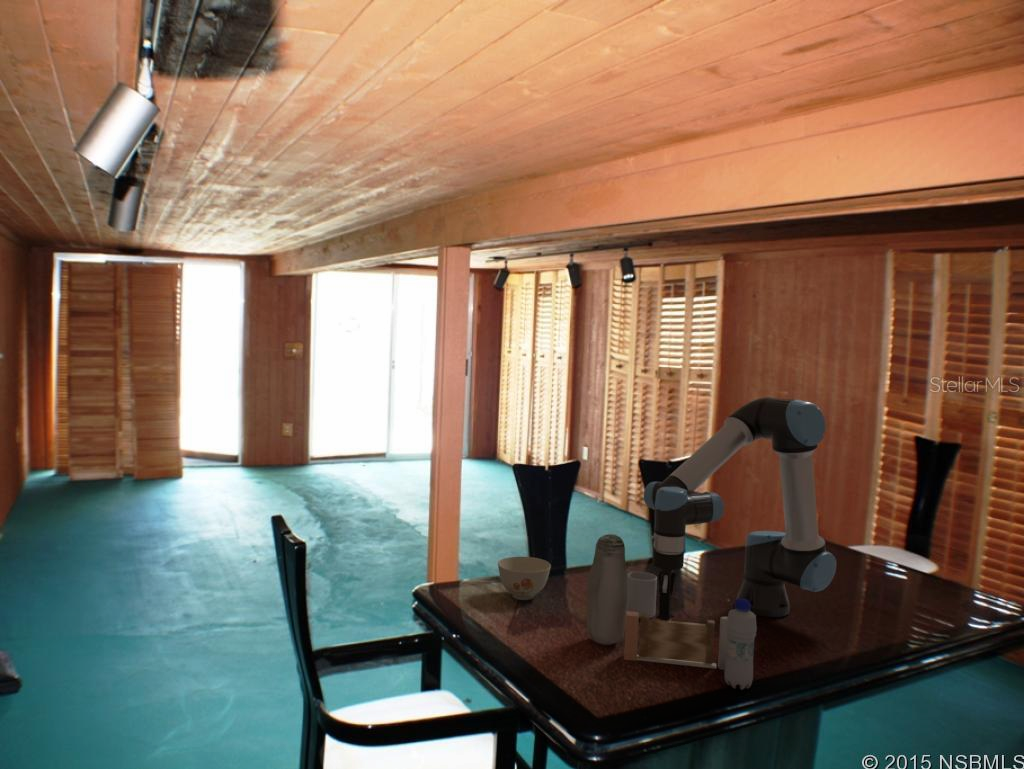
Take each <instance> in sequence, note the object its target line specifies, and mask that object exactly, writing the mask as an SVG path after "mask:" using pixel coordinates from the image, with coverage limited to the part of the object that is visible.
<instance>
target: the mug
mask: <svg viewBox="0 0 1024 769" xmlns="http://www.w3.org/2000/svg"><path fill="white" fill-rule="evenodd" d="M627 575H628V585H629V586H628V603H627V611H631V612H639V619H641V614H649V619H653V618H654V617H655V616H656V609H657V606H656V605H657V603H656V602H657V589H658V588H657V586H658V576H656V575H655V574H653V573H650V572H647V571H631V572H629V573H627Z"/></svg>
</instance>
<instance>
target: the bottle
mask: <svg viewBox="0 0 1024 769" xmlns="http://www.w3.org/2000/svg"><path fill="white" fill-rule="evenodd" d="M727 617H728V619H727V623H726V627H727V629H726V631H727V634H728V635H727V652H726V662H725V670H723V671H724V681H725V683H726V685H727V686H731V687H732V688H733V689H736V688H737V685H738V686H739V689H740V690H745V689H749V688H751V686H752V684H753V680H754V655H755V654H754V652H755V651H754V650H755V638H756V636H757V630H758V629H757V615H755V614H754V613H752V612H751V611H750V602H749V601H748V600H746V599H737V598H736V600H735V602H734V609H731V610H729V611H728V614H727Z"/></svg>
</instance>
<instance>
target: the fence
mask: <svg viewBox="0 0 1024 769" xmlns="http://www.w3.org/2000/svg"><path fill="white" fill-rule="evenodd" d="M639 619H640V618H639V612H631V611H626V628H625V632H624V634H625V635H624V636H625V637H624V655H623V660H626V661H633V662H635V661H636V662H637V661H643V662H650V663H651V662H652V663H659V664H660V663H661V664H670V665H678V666H679V665H680V666H690V667H697V668H708V669H715V670H716V669H717V668H718V670H721V671H725V662H726V652H727V635H728V634H727V631H726V629H727V627H726V623H727V619H728V616H721V617H720V623H719V638H718V639H719V640H718V642H719V643H718V658H717V663H715V662H713V664H708V663H703V662H693V661H683V660H673V659H664V658H654V657H639V654H638V640H639Z"/></svg>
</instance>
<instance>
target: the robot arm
mask: <svg viewBox="0 0 1024 769" xmlns="http://www.w3.org/2000/svg"><path fill="white" fill-rule="evenodd" d="M826 424H827V423H826V419H825V416H824V413H823V411H822V410H821V408H820V407H818V405H816V404H815V403H813V402H809V401H804V400H802V399H788V398H776V397H770V396H769V397H768V396H767V397H766V396H765V397H760V398H757V399H754V400H751V401H750V402H748V403H746V404H743V405H742V406H741V407H739V408H738V409H736V410H735V411H734V412H732V413H731V414H730V415H729V416H727V418H726V419H725V420H724V422H723V426H722V427H721V428H720V429H719V430H718V431H717V432H715V434H713V435H712V436H711V437H710V438H709V439H708V440H707V441H705V443H703V445H701V446H700V447H699V448H698V449H697V450H696V451H695V452H694V453H692V455H689V457H688V458H687V459H686V460H685V461H684V462H683V463H681V464H680V465H679V466H678V467H677V468H676V469H675V470H674V471H672V473H670V474H669V475H668V476H667V477H666V478H665V479H664V480H663V481H651V482H649V483H648V484H647V485H646V487H645V488H644V491H643V500H644V501H643V502H644V504H645V505H646V506H647V507H648V508H649V509H652V510H654V523H653V524H654V525H653V526H654V527H653V528H654V529H653V531H654V532H653V535H651V539H652V540H653V551H652V565H653V566H654V567H656V568H657V569H658V568H659V569H660V571H659V573H658V577H657V582H658V592H659V599H658V600H659V602H658V603H659V604H658V605H659V608H658V610H659V611H658V614H657V615H656V619H657V620H666V621H672V620H671V618H674V617H675V616H674V615H675V614H674V613H672V611H673V608H672V607H673V605H672V604H673V594H674V590H675V582H676V579H677V578H676V577H677V573H676V572H675V571H677V570H681V569H683V567H684V561H685V560H684V559H685V553H684V551H685V546H686V545H685V544H686V527H687V526H690V525H698V524H700V525H701V524H710V523H713V522H717V521H719V520H720V519H721V518H722V517H723V515H724V513H725V503H724V501H723V499H722V497H721V496H720V495H719V494H718V493H716V492H713V491H704V492H700V491H699V492H698V491H696V490H697V489H698V488H699V487H701V486H702V485H703V484H704V483H705V482H706V481H707V480H708V479H709V478H710V477H711V476H713V474H714V473H716V472H717V471H718V470H719V469H720V468H721V467H722V466H723V465H724V464H725V463H726V462H727V461H729V460H730V459H731V458H732V456H734V455H735V454H736V453H737V452H738V451H739V450H740V449H741V448H742V447H746V446H750V445H751V444H752V443H753V442H754V441H756V440H759V439H767V440H771V445H772V451H773V453H774V452H775V453H776V454H777V455H778V458H779V469H780V470H779V471H780V481H781V491H782V492H781V493H782V494H781V496H782V504H783V515H784V517H783V518H784V528H785V532H782V531H774V530H759V531H757V530H756V531H751V532H749V533H748V534H747V535H746V539H745V541H746V542H745V545H744V564H743V566H744V568H743V580H742V584H741V586H740V589H739V590H738V593H737V596H736V600H737V599H746V600H748V601H749V602H750V611H751V612H752V613H754V614H755V616H758V617H759V616H760V617H767V618H781V617H785V616H787V615H789V614H790V607H791V606H790V600H789V597H788V593H787V590H786V586H785V585H786V583H787V584H788V585H789V584H790V585H792V586H795V587H798V588H801V589H802V590H805V591H809V592H815V593H817V592H821V591H823V590H825V589H826V588H827V587H828V586H829V585H830V584H831V582H832V580H833V579H834V577H835V574H836V571H837V559H836V557H835V556H834V555H833V554H832V553H831V552H829V551H827V550H826V549H827V548H826V541H825V539H824V538H823V537H822V536H820V534H819V525H818V524H819V523H818V510H817V499H816V497H817V496H816V486H815V473H814V462H813V453H814V452H815V451H817V449H818V445H819V444H820V443H821V442H822V441H823V439H824V437H825V436H824V434H825V433H826V426H827V425H826Z"/></svg>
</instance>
